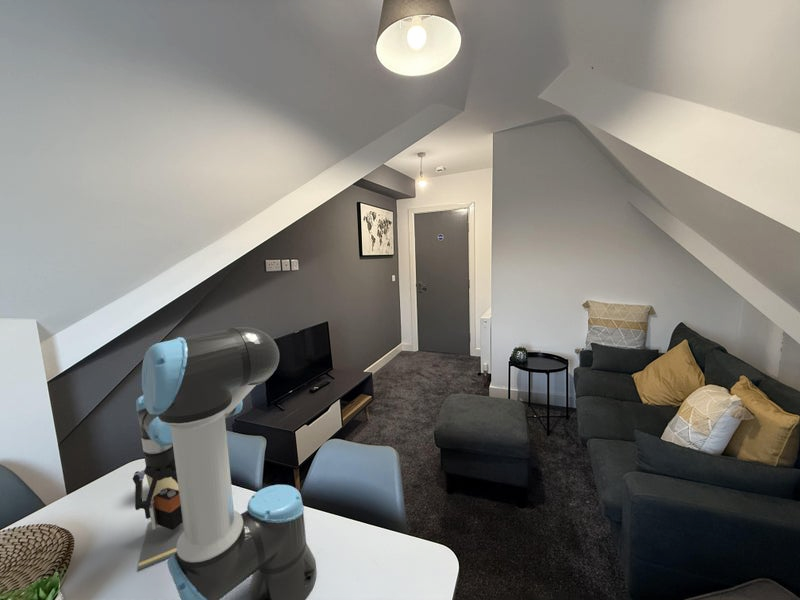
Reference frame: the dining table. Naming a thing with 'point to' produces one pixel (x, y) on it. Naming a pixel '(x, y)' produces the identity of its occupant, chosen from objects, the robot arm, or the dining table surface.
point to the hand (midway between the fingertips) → (171, 519)
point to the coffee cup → (163, 484)
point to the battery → (168, 508)
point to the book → (159, 545)
